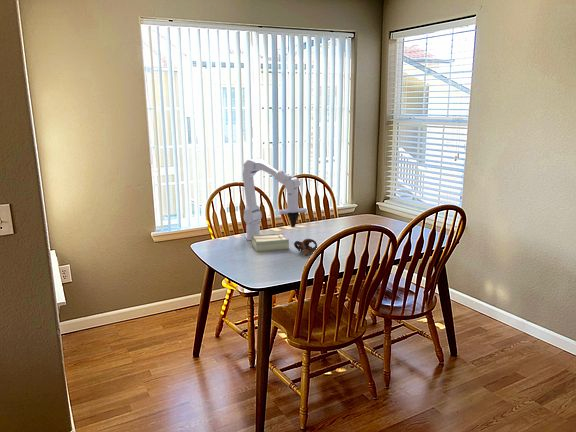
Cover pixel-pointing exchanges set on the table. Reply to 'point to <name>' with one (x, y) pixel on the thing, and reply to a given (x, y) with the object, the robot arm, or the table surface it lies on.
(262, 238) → the cover plate
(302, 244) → the brown looped figurine
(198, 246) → the table surface
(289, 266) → the table surface
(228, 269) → the table surface
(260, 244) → the green tray
